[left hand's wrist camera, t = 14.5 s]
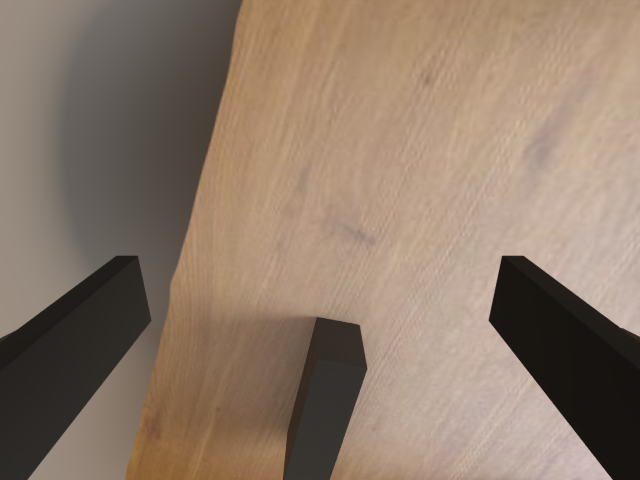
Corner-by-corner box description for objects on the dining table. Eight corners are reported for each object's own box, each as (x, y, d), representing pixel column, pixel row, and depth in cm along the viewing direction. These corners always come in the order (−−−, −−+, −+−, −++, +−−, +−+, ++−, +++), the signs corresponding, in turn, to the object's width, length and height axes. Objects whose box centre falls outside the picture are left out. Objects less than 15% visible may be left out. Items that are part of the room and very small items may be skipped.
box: (317, 316, 48) (316, 359, 40) (359, 324, 49) (367, 368, 41) (287, 432, 56) (281, 487, 48) (324, 438, 57) (325, 493, 49)
